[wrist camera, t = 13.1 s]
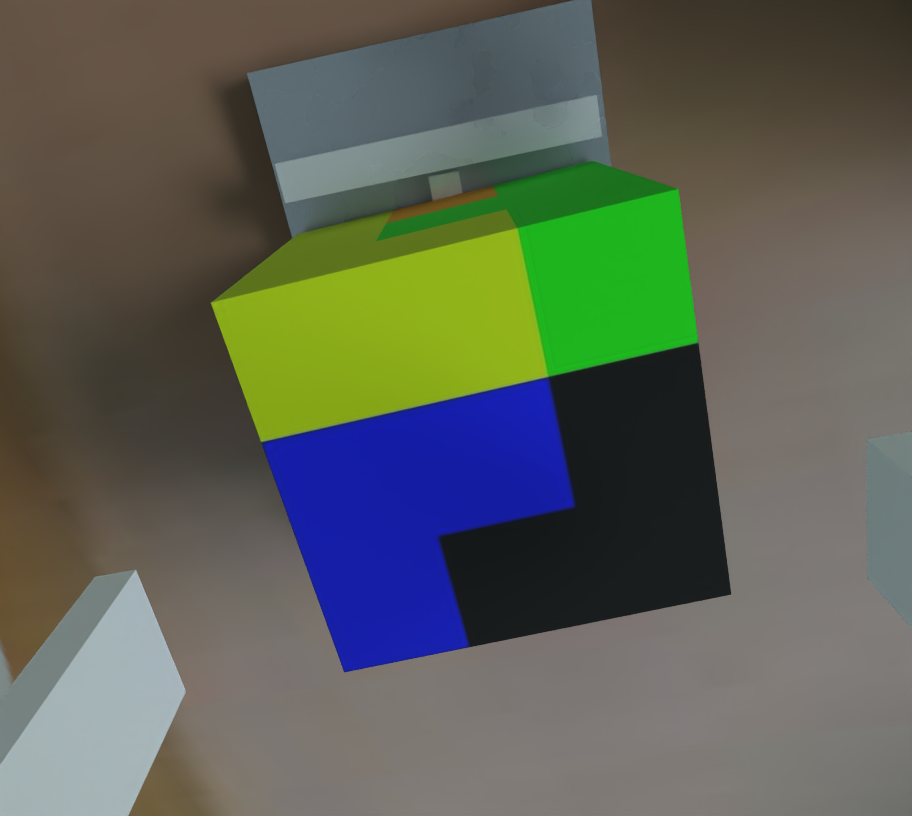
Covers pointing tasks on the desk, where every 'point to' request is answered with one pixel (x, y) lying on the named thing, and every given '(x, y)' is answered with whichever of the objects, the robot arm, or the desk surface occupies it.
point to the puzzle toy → (486, 412)
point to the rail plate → (433, 114)
